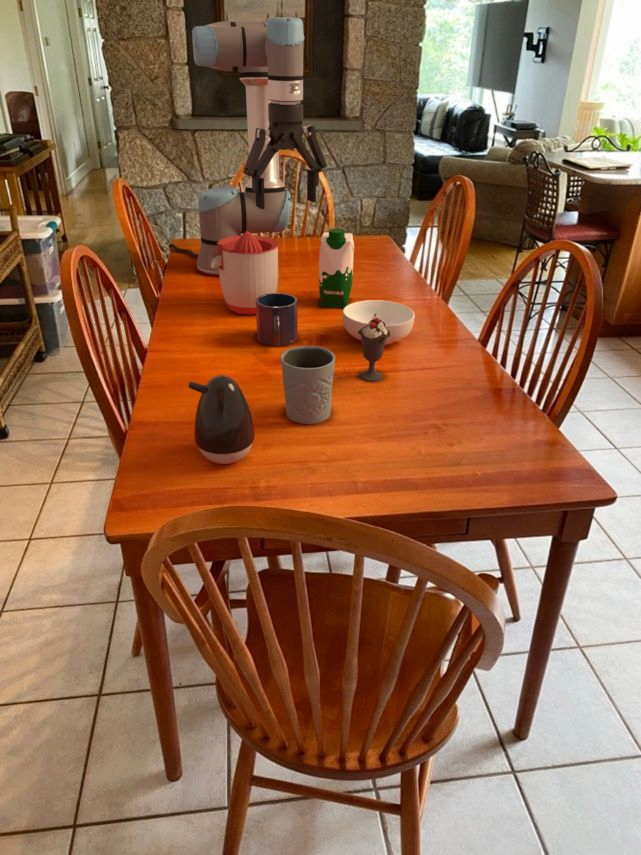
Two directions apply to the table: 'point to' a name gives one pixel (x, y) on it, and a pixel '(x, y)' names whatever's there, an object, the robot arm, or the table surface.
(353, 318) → the cereal bowl
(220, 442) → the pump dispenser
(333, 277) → the milk carton
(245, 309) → the citrus juicer
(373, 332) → the sundae
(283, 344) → the mug
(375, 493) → the table surface
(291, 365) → the grey embossed cup
